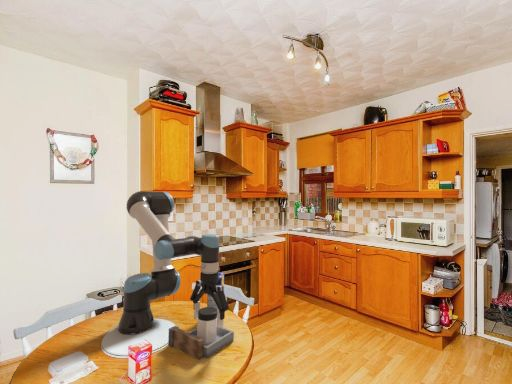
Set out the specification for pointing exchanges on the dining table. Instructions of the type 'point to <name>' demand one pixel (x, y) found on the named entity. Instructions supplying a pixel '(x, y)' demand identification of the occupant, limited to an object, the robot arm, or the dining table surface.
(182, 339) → the door board
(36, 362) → the dining table surface
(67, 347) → the dining table surface
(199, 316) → the jar
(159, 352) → the dining table surface
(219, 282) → the beverage box
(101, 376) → the dining table surface
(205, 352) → the tray
